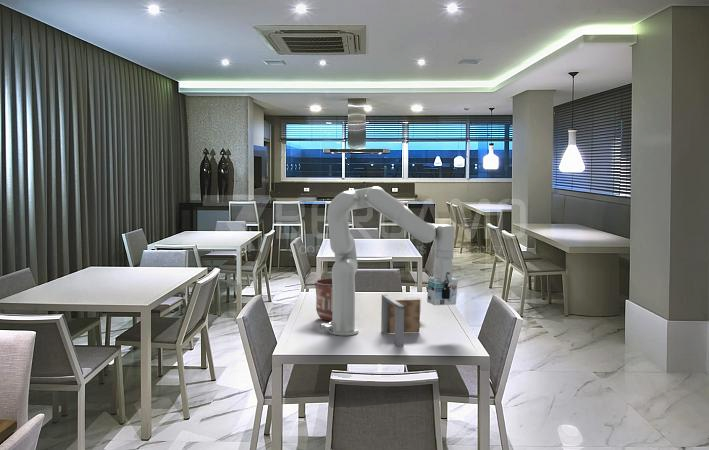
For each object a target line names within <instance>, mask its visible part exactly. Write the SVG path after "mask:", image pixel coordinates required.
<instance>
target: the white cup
mask: <svg viewBox="0 0 709 450" xmlns="http://www.w3.org/2000/svg"><path fill="white" fill-rule="evenodd" d="M414 299H420V313H421V312H422V298H420V297H415V296H414V297H412V296H410V297H409V296H408V297H404V299H403V300H414Z"/></svg>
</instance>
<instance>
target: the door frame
mask: <svg viewBox="0 0 709 450" xmlns="http://www.w3.org/2000/svg"><path fill="white" fill-rule="evenodd" d="M395 300H396V299H394V298H392V297H391V296H389V295H387V294H381V317H380V318H381V321H380V323H381V324H380V326H381V327H380V328H381V329H380V332H381V333H382V334H388V333H387V327H388V302H389V303H390V304H392V305H393V306H395V333H394V341H393V342H394V344H395V346H397V347H400V348H403V347H404V338H405V336H404V335H405V333H404V306H403V305H401V304H400V303H398V302H397V301H395Z"/></svg>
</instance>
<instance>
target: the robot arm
mask: <svg viewBox="0 0 709 450" xmlns="http://www.w3.org/2000/svg"><path fill="white" fill-rule="evenodd" d="M365 208H368V209H369V208H372V209H374V210H375V211H377V212H379V213H380V214H381V215H383V216H384V217H385V218H386V219H388V220H390V221H391V222H393V223H394V224H395V225H397V226H399V227H400V228H402V229H403V230H404V231H405V232H407V233H408V234H410V235H411V236H413V237H414V238H415V239H417V240H419V241H420V242H422V243H425V244H429V243H431V242H433V241H435V244H434V245H435V246H434V247H435V249H434V251H435V252H434V263H433V271H432V277H436V278H437V279H439V280H440V283H442V282H443V289H442V299H449V298H450V289H451V284H452V278H453V259H454V253H455V251H454V249H455V235H456V234H455V233H456V229H455V226H454V225H453V224H446V223H443V224H435V223H431V222H426V221H425V220H423V219H422V218H420V217H419V216H418V215H416V214H415V213H413V212H412V210H411V209H410V208H409V207H408V206H407V205H405V204H404V202H403V203H402V202H401V201H399V200H398V199H397V198H395V197H394V196H392V195H391V194H389V193H388V192H386V191H385V189H384V188H382V187H381V186H379V185H377V186H372V187H364V188H359V189H351V190H344V191H341V192H340V193H339V194H337V195H336V196H334V198H333V199H332V200H331V202H330V203H329V204H328V207H327V225H328V226H327V227H328V235H329V242H330V243H329V246H330V249H331V252H333V253H334V259H335V260H334V261H335V262H334V264H333V266H332V267H331V278H332V289H333V290H332V292H333V293H332V296H333V304H332V321H331V322H324V323H321V325H320V327H321V329H325V330H328V333H329V334H331V335H332V336H333V335H335V336H345V337H347V336H353V335H356V334H359V329H358V328H357V327H356V323H355V321H356V283H355V281H356V276H355V275H356V272H357V271H358V266H359V265H358V258H357V249H356V243H355V238H354V236H353V235H352V234H351V233H350V225H349V218H348V215H349V212H351V211H354V210H360V209H365ZM445 280H447V281H448V282H444V281H445ZM445 284H446V286H445Z"/></svg>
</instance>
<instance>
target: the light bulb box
mask: <svg viewBox="0 0 709 450" xmlns="http://www.w3.org/2000/svg"><path fill="white" fill-rule="evenodd" d="M427 279H428V280H427V281H428V282H427V295H426V296H427V298H426V299H427V300H426V302H427V304H431V305H433V306H451V305H452V306H453V305H455V306H456V304H457V295H458V294H457V293H458V279H457V278H455V277H452V284H451V289H450V298H449V299H442V289H443V282H442V283H440V280H439V279H437V278H436V277H433V276H428V278H427ZM444 282H448V281H447V280H445V281H444ZM445 286H446V284H445Z"/></svg>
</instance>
